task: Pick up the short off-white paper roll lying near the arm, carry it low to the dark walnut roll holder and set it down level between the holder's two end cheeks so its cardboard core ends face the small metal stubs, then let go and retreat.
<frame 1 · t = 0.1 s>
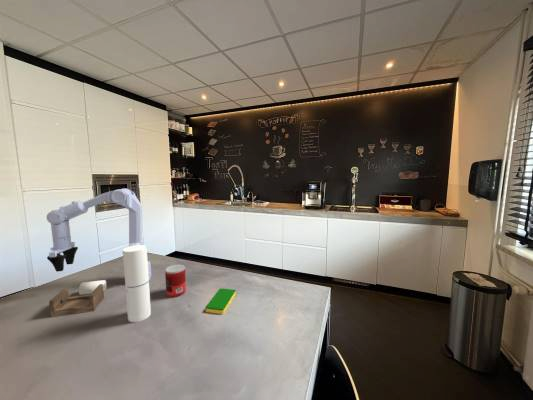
hand: (65, 267, 96), 10 cm above the countertop, fingers open, 7 cm apart
cylindrical container: (139, 316, 79), on the countertop
holder: (79, 306, 84), on the countertop
canned food: (176, 293, 95), on the countertop
roll: (93, 287, 94), point 2 cm above the countertop
dish sponge: (221, 303, 87), on the countertop
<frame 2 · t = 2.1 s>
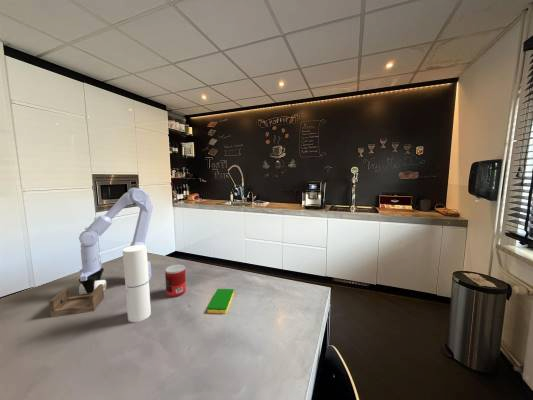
hand: (93, 289, 94), 1 cm above the countertop, fingers closed on roll, 5 cm apart
roll: (93, 287, 94), point 2 cm above the countertop, touching gripper
everything else where it was.
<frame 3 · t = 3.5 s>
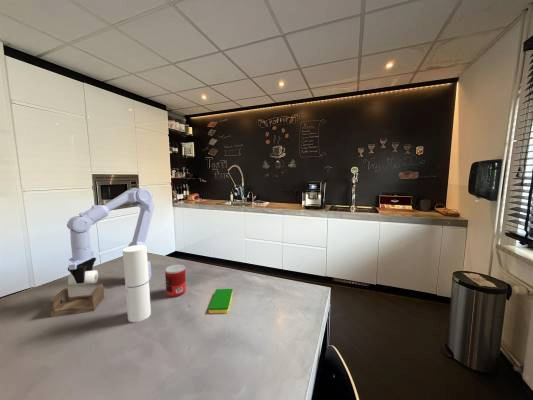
hand: (84, 279, 88), 9 cm above the countertop, fingers closed on roll, 5 cm apart
roll: (83, 277, 88), point 9 cm above the countertop, touching gripper
everything else where it was.
when the fingers open (3 cm above the countertop, at t = 5.3 s): roll stays where it is, resting on holder.
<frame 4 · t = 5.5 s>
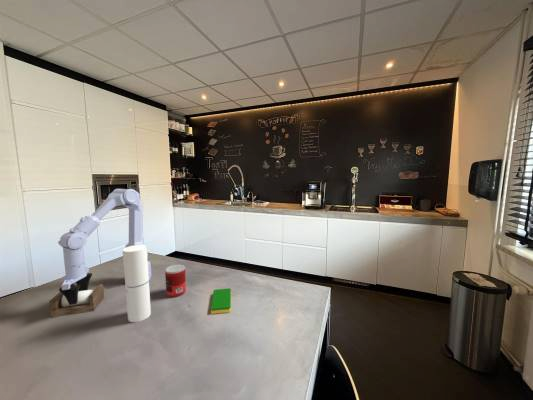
hand: (78, 298, 84), 3 cm above the countertop, fingers open, 7 cm apart
roll: (78, 298, 84), point 3 cm above the countertop, touching holder
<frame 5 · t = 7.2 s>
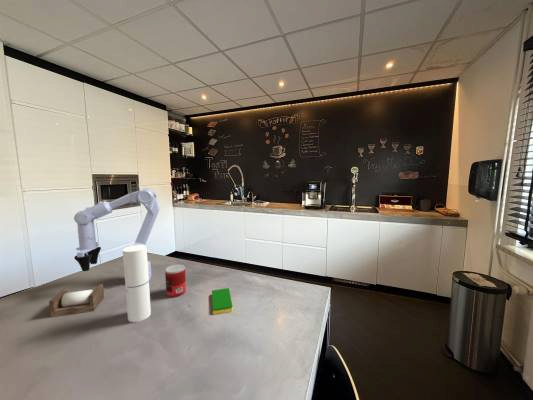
hand: (90, 267, 98), 9 cm above the countertop, fingers open, 7 cm apart
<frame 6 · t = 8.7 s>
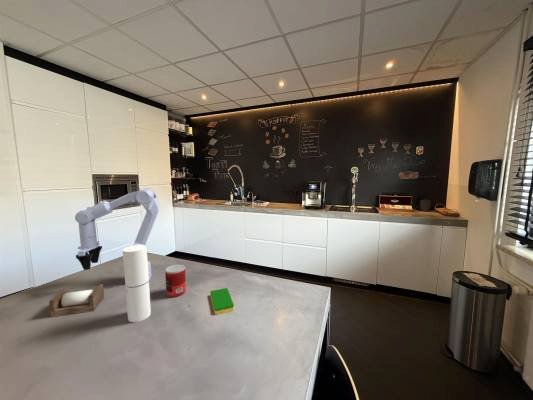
hand: (91, 265, 99), 9 cm above the countertop, fingers open, 7 cm apart
at the end: roll 0.1 cm off-centre on the holder, point 3.5 cm above the holder's base; the gripper is holding nothing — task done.
